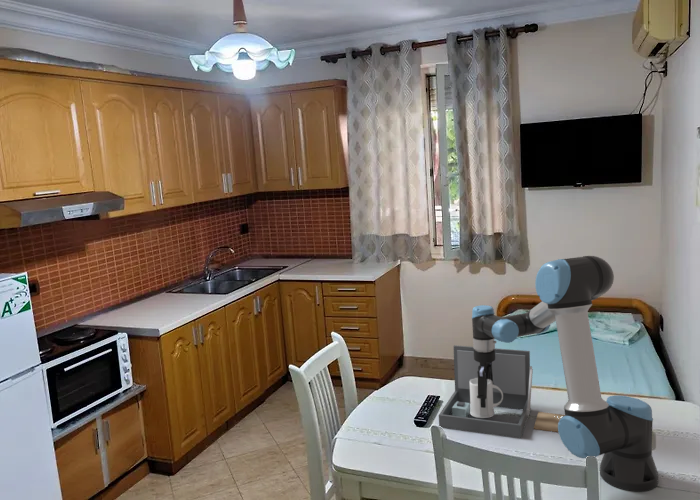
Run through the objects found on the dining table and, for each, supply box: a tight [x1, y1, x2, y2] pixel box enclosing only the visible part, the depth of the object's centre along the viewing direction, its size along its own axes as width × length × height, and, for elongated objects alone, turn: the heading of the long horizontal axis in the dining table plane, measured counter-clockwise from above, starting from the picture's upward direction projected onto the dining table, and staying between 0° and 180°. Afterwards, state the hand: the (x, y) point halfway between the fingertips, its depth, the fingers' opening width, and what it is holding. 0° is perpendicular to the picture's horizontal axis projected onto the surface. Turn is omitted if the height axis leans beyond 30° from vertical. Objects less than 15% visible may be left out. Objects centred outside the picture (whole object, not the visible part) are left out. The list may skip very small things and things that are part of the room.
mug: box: [469, 378, 503, 419], centre depth 209 cm, size 12×8×12 cm
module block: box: [451, 401, 471, 418], centre depth 213 cm, size 6×5×5 cm
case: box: [438, 344, 534, 439], centre depth 208 cm, size 24×29×22 cm
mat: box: [533, 411, 565, 434], centre depth 203 cm, size 14×14×1 cm
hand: (486, 410), depth 209 cm, fingers closed on mug, 8 cm apart
